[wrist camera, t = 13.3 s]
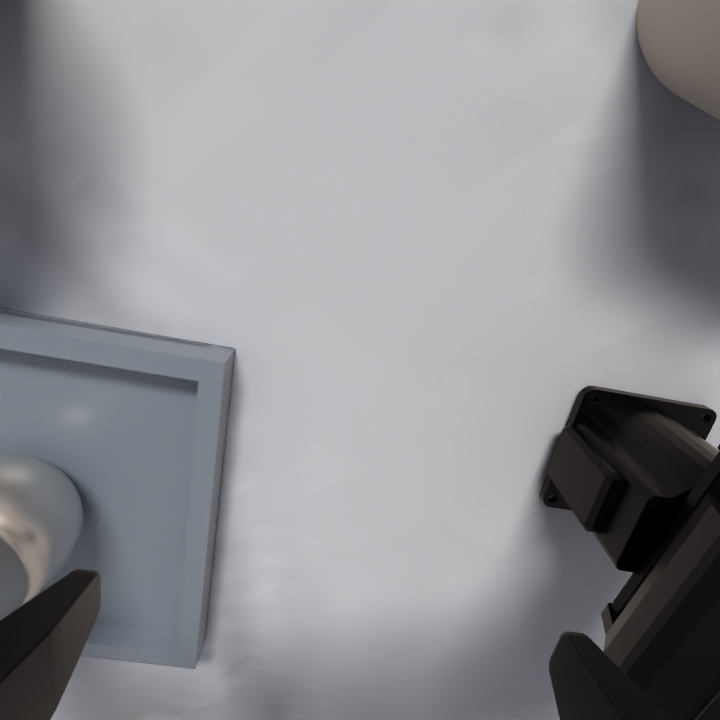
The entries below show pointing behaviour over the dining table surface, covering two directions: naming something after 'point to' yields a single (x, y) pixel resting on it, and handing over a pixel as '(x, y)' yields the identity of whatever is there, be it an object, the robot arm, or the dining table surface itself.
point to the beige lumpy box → (683, 48)
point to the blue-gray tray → (127, 468)
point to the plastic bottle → (34, 527)
